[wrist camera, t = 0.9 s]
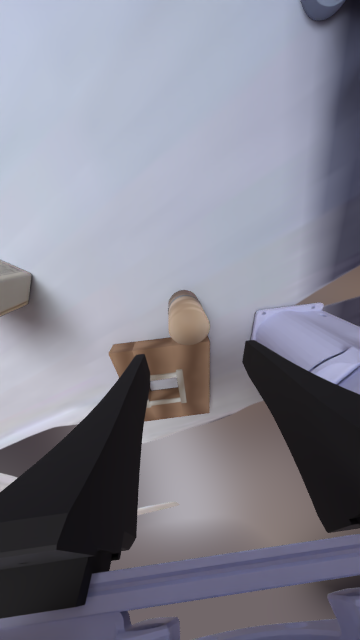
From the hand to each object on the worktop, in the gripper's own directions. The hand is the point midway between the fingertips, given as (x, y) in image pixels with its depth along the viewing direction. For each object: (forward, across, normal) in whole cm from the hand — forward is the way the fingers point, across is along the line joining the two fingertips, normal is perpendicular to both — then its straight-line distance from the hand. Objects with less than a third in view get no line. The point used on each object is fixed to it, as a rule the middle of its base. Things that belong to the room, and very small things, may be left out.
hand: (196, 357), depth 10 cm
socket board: (+10, +4, +14) cm, 18 cm away
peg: (+10, 0, 0) cm, 10 cm away
